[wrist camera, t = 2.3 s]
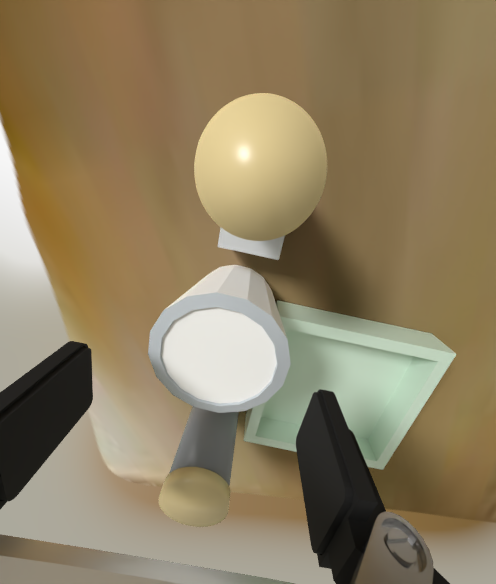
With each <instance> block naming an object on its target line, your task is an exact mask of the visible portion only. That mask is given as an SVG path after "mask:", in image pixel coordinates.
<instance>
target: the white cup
mask: <svg viewBox="0 0 496 584" xmlns="http://www.w3.org/2000/svg"><path fill="white" fill-rule="evenodd" d="M148 355H149V358H150V361H151V363H152V366H153V369H154V371H155V374H156V377H157V378H158V379H159V380H160V381H161V382H162V383H163V384H164V386H165V387H166V388H167V389H168V390H169V391H170V392H171V393H172V394H173V395H174V396H176V397H178V398H179V399H181V400H183V401H185V402H186V403H188V404H190V405H192V406H193V407H196V408H200V409H204V410H209V411H213V412H217V413H226V412H240V411H246V410H248V409H251V408H253V407H255V406H258V405H260V404H263V403H265V402H267V401H268V400H269V399H270V398H271V397H272V396H273V395H274V394H275V393H276V392H277V391H278V390H279V389H280V388H281V387H282V386H283V384H284V381H285V378H286V376H287V373H288V370H289V367H290V365H291V363H290V355H289V347H288V340H287V337H286V333H285V330H284V327H283V324H282V321H281V318H280V315H279V312H278V309H277V306H276V302H275V299H274V296H273V293H272V290H271V288H270V287H269V285H268V284H267V282H266V280H265V279H264V277H262V276H261V275H260V274H258V273H257V272H255V271H254V270H253V269H251V268H247V267H243V266H239V265H230V266H223V267H219V268H218V269H216V270H215V271H213V272H211V273H210V274H208V275H207V276H205V277H204V278H203V279H202V280H201V281H199V282H198V283H197V284H196V285H194V286H193V287H192V288H191V289H189V290H188V291H187V292H186V293H185V294H183V295H182V296H181V297H180V298H178V299H177V300H176V301H175V302H173V303H172V304H171V305H170V306H168V307H167V308H166V309H165V310H164V311H163V312H162V314H161V315H160V317H159V318H158V320H157V321H156V323H155V325H154V326H153V328H152V329H151V331H150V340H149V351H148Z"/></svg>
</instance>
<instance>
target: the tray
mask: <svg viewBox="0 0 496 584" xmlns="http://www.w3.org/2000/svg"><path fill="white" fill-rule="evenodd" d="M276 306H277V309H278V312H279V315H280V318H281V321H282V324H283V327H284V330H285V333H286V337H287V340H288V347H289V355H290V363H291V365H290V367H289V370H288V373H287V376H286V378H285V381H284V384H283V386H282V387H281V388H280V389H279V390H278V391H277V392H276V393H275V394H274V395H273V396H272V397H271V398H270V399H269V400H268V401H267V402H265V403H263V404H260V405H258V406H255V407H253V408H251V409H248V410H247V413H246V419H245V430H244V441H247V442H252V443H256V444H261V445H266V446H271V447H276V448H280V449H285V450H290V451H295V452H297V450H296V437H297V434H298V431H299V429H300V426H301V424H302V421H303V418H304V416H305V413H306V411H307V408H308V405H309V403H310V400H311V398H312V395H313V393H314V392H318V390H319V389H322V390H327V391H332V392H334V394H335V396H336V398H337V401H338V403H339V406H340V408H341V411H342V413H343V416H344V418H345V421H346V423H347V426H348V428H349V429H350V430H351V431H352V432H353V433H354V435H355V438H356V440H357V442H358V445H359V447H360V450H361V452H362V454H363V457H364V459H365V462H366V464H367V467H371V468H376V469H381V470H383V469H384V467H385V466H386V464H387V463H388V461H389V459H390V458H391V456H392V455H393V453H394V452H395V450H396V448H397V447H398V445H399V444H400V442H401V441H402V439H403V437H404V436H405V434H406V433H407V431H408V430H409V428H410V426H411V425H412V423H413V422H414V420H415V419H416V417H417V415H418V414H419V412H420V411H421V409H422V408H423V406H424V404H425V403H426V401H427V400H428V398H429V397H430V395H431V393H432V392H433V390H434V389H435V387H436V386H437V384H438V382H439V381H440V379H441V378H442V376H443V375H444V373H445V371H446V370H447V368H448V367H449V365H450V364H451V362H452V361H453V359H454V357H455V356H456V353H455V352H453V351H452V350H451V349H450V348H449V347H447V346H446V345H445V344H444V343H442V342H441V341H440V340H439V339H438V338H436V337H435V336H434V335H433V334H431V333H427V332H422V331H417V330H413V329H408V328H403V327H399V326H394V325H389V324H385V323H380V322H375V321H371V320H366V319H362V318H357V317H352V316H348V315H343V314H338V313H334V312H329V311H324V310H320V309H315V308H310V307H306V306H301V305H296V304H292V303H287V302H283V301H278V300H277V303H276Z"/></svg>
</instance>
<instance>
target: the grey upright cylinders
mask: <svg viewBox="0 0 496 584" xmlns="http://www.w3.org/2000/svg"><path fill="white" fill-rule="evenodd" d="M194 173H195V182H196V188H197V191H198V194H199V197H200V200H201V202H202V204H203V206H204V208H205V209H206V211H207V213H208V214H209V215H210V217H211V218H212V219H213V220H214V221H215V222H216V223H217V224H218V225H219V226H220V227H221V229H220V235H219V242H218V247H221V248H225V249H230V250H235V251H239V252H244V253H248V254H253V255H258V256H262V257H267V258H271V259H276V260H279V257H280V253H281V249H282V245H283V241H284V237H285V235H287V234H288V233H290V232H292V231H294V230H295V229H296V228H298V227H299V226H300V225H301V224H302V223H303V222H304V221H306V219H307V218H308V217H309V216H310V215H311V214H312V212H313V210H314V209H315V207H316V206H317V204H318V202H319V200H320V198H321V195H322V192H323V190H324V186H325V182H326V175H327V155H326V149H325V145H324V141H323V138H322V136H321V133H320V131H319V129H318V127H317V126H316V124H315V122H314V121H313V120H312V118H311V117H310V116H309V114H308V113H307V112H306V111H304V110H303V109H302V108H301V107H300V106H299V105H297V104H296V103H294V102H293V101H291V100H289V99H287V98H285V97H281V96H278V95H275V94H267V93H256V94H251V95H246V96H243V97H240V98H238V99H236V100H234V101H232V102H230V103H228V104H227V105H226V106H224V107H223V108H222V109H220V110H219V111H218V112H217V113H216V114H215V115H214V117H213V118H212V119H211V120H210V122H209V123H208V124H207V126H206V128H205V130H204V131H203V133H202V136H201V138H200V140H199V143H198V147H197V150H196V156H195V165H194ZM238 414H239V412H226V413H217V412H213V411H209V410H204V409H200V408H196V407H192V410H191V413H190V415H189V418H188V421H187V424H186V427H185V430H184V433H183V435H182V438H181V441H180V444H179V447H178V450H177V453H176V455H175V458H174V461H173V464H172V467H171V470H170V473H169V474H168V476H167V477H166V479H165V481H164V484H163V487H162V490H161V493H160V495H159V506H160V508H161V509H162V511H163V512H164V513H165V514H166V515H167V516H168V517H170V518H171V519H173V520H175V521H177V522H179V523H182V524H185V525H189V526H196V527H207V526H212V525H215V524H218V523H220V522H221V521H222V520H224V519H225V517H226V516H227V514H228V508H229V500H230V487H229V485H230V477H231V469H232V461H233V453H234V446H235V438H236V430H237V422H238Z"/></svg>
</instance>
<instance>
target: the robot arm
mask: <svg viewBox="0 0 496 584" xmlns="http://www.w3.org/2000/svg"><path fill="white" fill-rule="evenodd" d="M92 400H93V392H92V359H91V349H90V348H88V346H87V344H84V343H79V342H74V341H70V342H68V343H66V344H65V345H64V346H63V347H61V348H60V349H58V350H57V351H56V352H54V353H53V354H52V355H51V356H49V357H48V358H46V359H45V360H44V361H42V362H41V363H40V364H38V365H37V366H36V367H34V368H33V369H31V370H30V371H29V372H28V373H26V374H25V375H23V376H22V377H21V378H19V379H18V380H17V381H15V382H14V383H13V384H11V385H10V386H9V387H7V388H6V389H5V390H3V391H2V392H0V509H1V508H2V507H3V506H4V505H5V503H6V502H7V501H11V500H12V499H14V498H15V497H16V496H17V495H18V494H19V492H20V491H21V490H22V489H23V488H24V486H25V485H26V484H27V483H28V482H29V480H30V479H31V478H32V477H33V475H34V474H35V473H36V472H37V471H38V469H39V468H40V467H41V466H42V464H43V463H44V462H45V460H47V458H48V457H49V456H50V455H51V453H52V452H53V451H54V450H55V449H56V447H57V446H58V445H59V444H60V442H61V441H62V440H63V439H64V437H65V436H66V435H67V434H68V433H69V432H70V430H71V429H72V428H73V427H74V425H75V424H76V423H77V422H78V420H79V419H80V418H81V417H82V415H83V414H84V413H85V412H86V411H87V410H88V408H89V407H90V405H91V403H92ZM296 450H297V456H298V463H299V469H300V476H301V482H302V489H303V495H304V502H305V508H306V515H307V521H308V527H309V534H310V540H311V546H312V550H313V552H314V553H317V555H318V561H319V567H324V568H330V569H332V574H333V579H334V581H335V583H336V584H450V583H449V582H447V580H446V579H445V578H443V576H441V575H440V574H439V573H438V572H437V571H436V570H435V569H434V568H433V560H432V557H431V554H430V551H429V549H428V547H427V545H426V543H425V541H424V539H423V538H422V537H421V536H420V534H419V533H418V531H417V530H416V529H415V528H414V527H413V526H412V525H411V524H410V523H409V522H408V521H407V520H405V519H404V518H402V517H401V516H399V515H397V514H394V513H392V512H386V510H385V508H384V505H383V503H382V500H381V498H380V496H379V493H378V491H377V488H376V486H375V484H374V481H373V479H372V476H371V474H370V471H369V469H368V467H367V464H366V462H365V459H364V457H363V454H362V452H361V450H360V447H359V445H358V442H357V440H356V438H355V435H354V433H353V432H352V431H351V430H350V429H349V428H348V426H347V423H346V421H345V418H344V416H343V413H342V411H341V408H340V406H339V403H338V401H337V398H336V396H335V394H334V392H332V391H327V390H322V389H319V390H318V392H314V393H313V395H312V398H311V400H310V403H309V405H308V408H307V411H306V413H305V416H304V418H303V421H302V424H301V426H300V429H299V431H298V434H297V437H296ZM0 584H294V583H289V582H283V581H278V580H273V579H268V578H262V577H256V576H250V575H245V574H238V573H232V572H227V571H221V570H215V569H209V568H204V567H198V566H192V565H186V564H180V563H174V562H168V561H162V560H155V559H149V558H143V557H137V556H131V555H125V554H119V553H113V552H107V551H100V550H95V549H89V548H82V547H76V546H70V545H63V544H56V543H50V542H44V541H38V540H32V539H25V538H19V537H13V536H6V535H0Z"/></svg>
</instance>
